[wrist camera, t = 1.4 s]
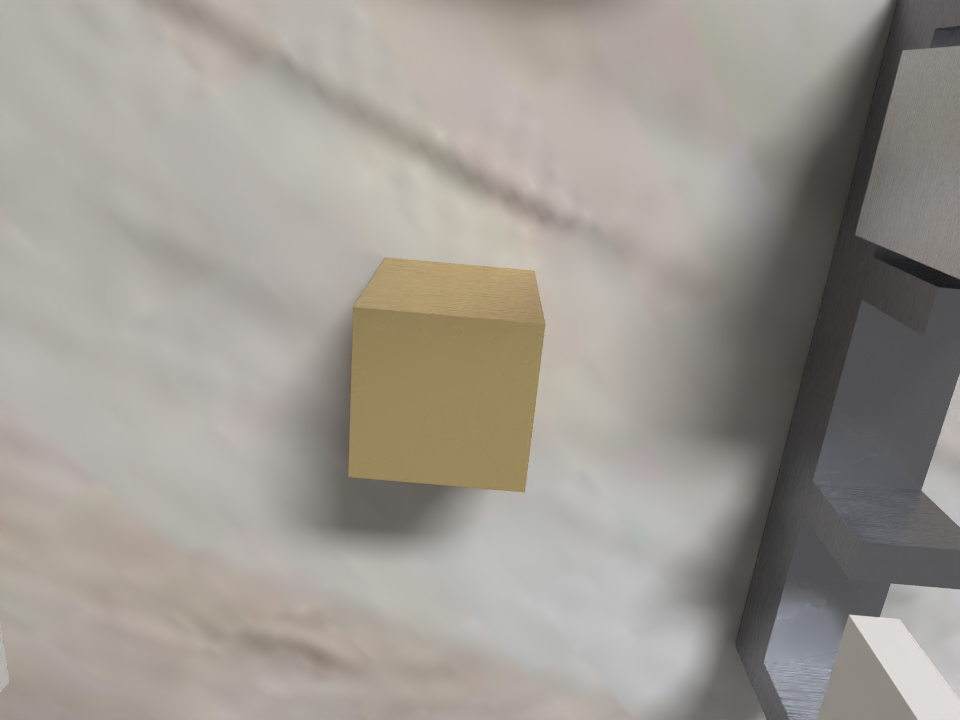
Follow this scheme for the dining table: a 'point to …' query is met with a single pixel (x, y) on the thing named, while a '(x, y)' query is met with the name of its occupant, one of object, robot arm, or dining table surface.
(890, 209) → the plain grey cube
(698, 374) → the dining table surface
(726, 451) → the dining table surface
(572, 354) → the dining table surface
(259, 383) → the dining table surface
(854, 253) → the rack rail
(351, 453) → the unfinished wooden cube
